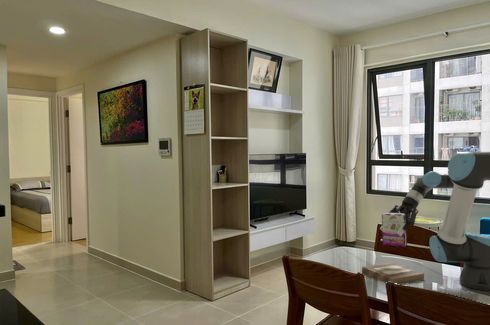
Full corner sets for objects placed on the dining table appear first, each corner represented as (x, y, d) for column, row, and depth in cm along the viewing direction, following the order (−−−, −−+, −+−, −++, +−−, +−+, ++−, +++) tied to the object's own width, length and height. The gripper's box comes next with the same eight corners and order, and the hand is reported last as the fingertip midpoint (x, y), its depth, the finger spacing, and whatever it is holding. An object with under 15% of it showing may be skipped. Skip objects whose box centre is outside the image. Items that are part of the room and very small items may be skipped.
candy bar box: (406, 244, 189) (406, 213, 189) (405, 247, 185) (404, 214, 184) (383, 242, 195) (383, 212, 194) (382, 244, 190) (381, 213, 190)
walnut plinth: (424, 279, 174) (424, 273, 174) (392, 285, 166) (392, 278, 166) (391, 267, 192) (391, 261, 192) (362, 272, 184) (362, 266, 184)
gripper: (434, 207, 184) (412, 241, 179) (398, 202, 206) (377, 232, 201) (427, 198, 182) (404, 231, 177) (391, 193, 204) (370, 223, 198)
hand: (390, 232), depth 189 cm, fingers closed on candy bar box, 11 cm apart
